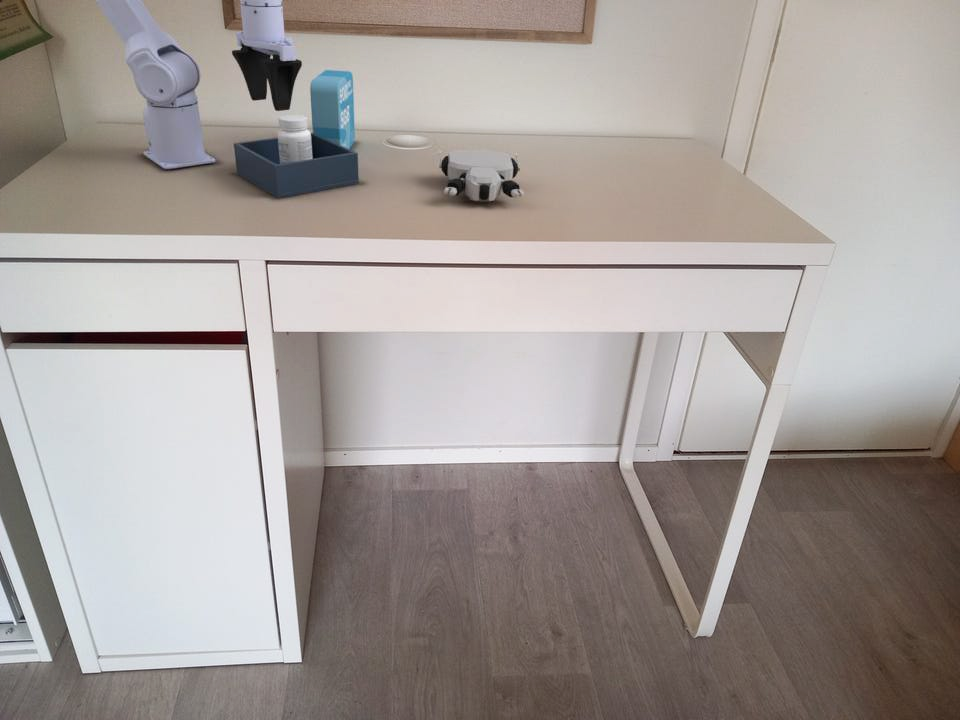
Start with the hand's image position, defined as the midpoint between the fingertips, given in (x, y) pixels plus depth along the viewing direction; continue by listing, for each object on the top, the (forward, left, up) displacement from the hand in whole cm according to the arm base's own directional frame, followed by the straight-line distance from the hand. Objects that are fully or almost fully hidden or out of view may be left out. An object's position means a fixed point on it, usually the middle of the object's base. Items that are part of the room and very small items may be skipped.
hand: (270, 104), depth 110 cm
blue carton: (-4, +13, -10) cm, 17 cm away
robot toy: (+26, +20, -10) cm, 34 cm away
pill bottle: (+7, 0, -9) cm, 11 cm away
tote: (+7, 0, -9) cm, 12 cm away
